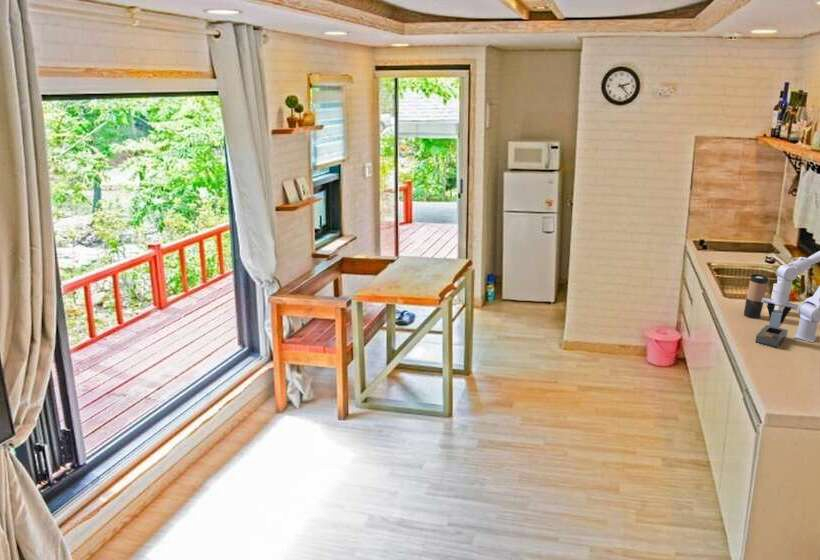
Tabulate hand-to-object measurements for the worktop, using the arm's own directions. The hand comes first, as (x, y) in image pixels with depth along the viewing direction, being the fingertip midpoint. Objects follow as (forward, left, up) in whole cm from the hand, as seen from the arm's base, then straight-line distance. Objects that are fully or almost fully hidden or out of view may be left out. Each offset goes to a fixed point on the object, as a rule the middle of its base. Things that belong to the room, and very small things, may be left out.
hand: (776, 321), depth 321 cm
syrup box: (-42, -7, -8) cm, 43 cm away
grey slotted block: (+3, 0, -8) cm, 9 cm away
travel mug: (-26, -15, -8) cm, 31 cm away
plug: (0, 0, -2) cm, 2 cm away
